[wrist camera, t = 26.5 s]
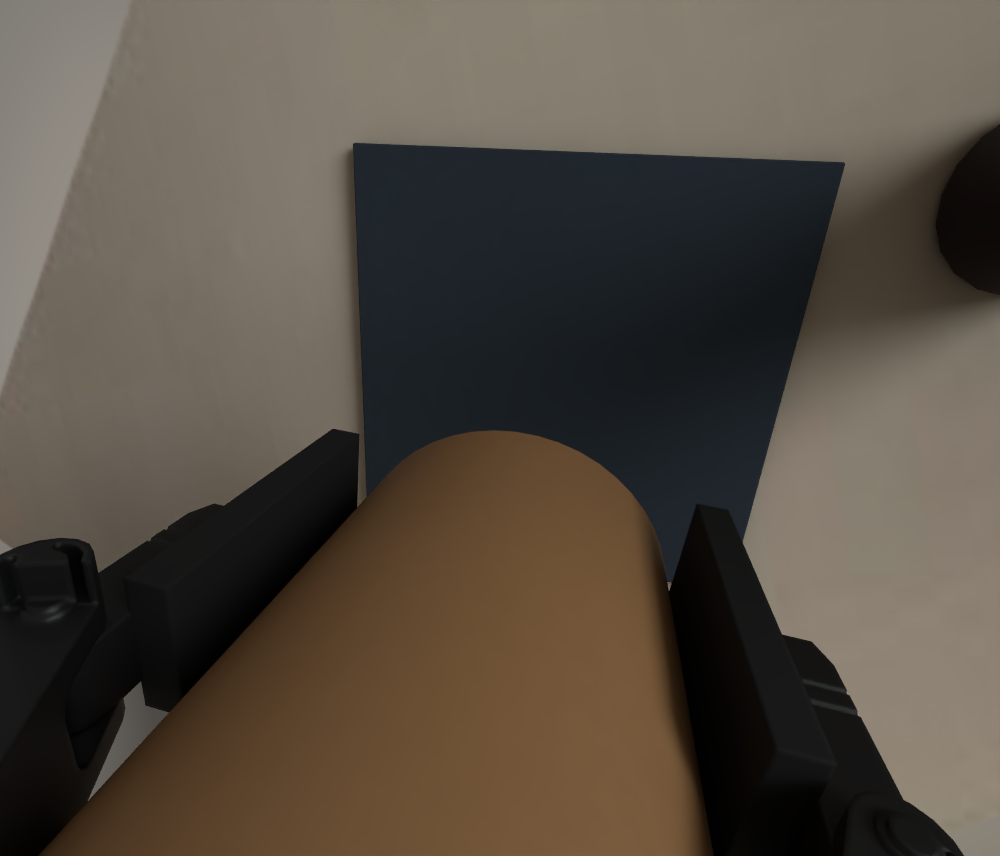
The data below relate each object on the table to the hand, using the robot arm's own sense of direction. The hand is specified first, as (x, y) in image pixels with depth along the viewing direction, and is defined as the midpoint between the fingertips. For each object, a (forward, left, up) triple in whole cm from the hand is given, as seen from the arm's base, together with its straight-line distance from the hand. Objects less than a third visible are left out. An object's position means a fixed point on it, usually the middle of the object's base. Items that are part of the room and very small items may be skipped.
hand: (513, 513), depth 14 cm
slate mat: (0, 0, -13) cm, 13 cm away
